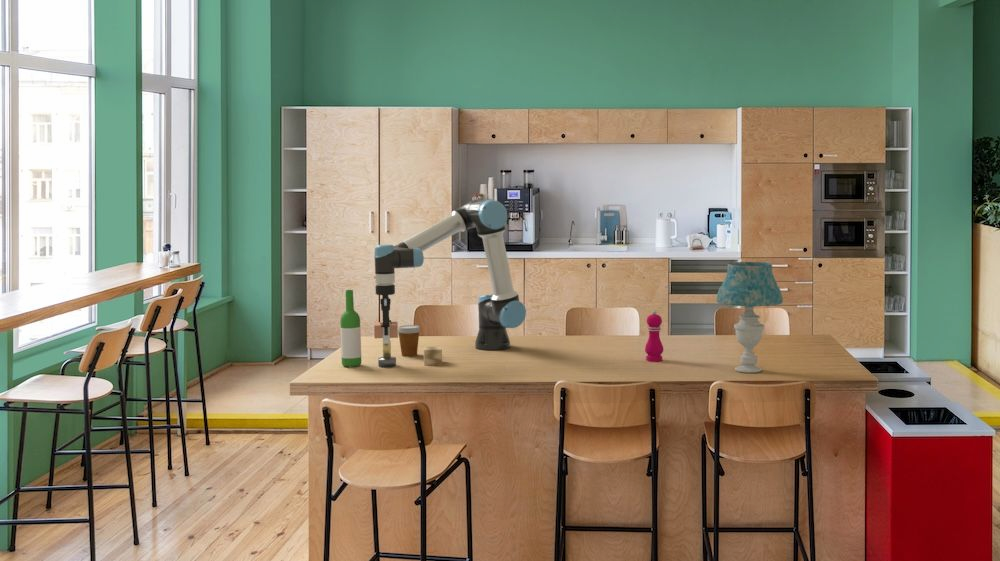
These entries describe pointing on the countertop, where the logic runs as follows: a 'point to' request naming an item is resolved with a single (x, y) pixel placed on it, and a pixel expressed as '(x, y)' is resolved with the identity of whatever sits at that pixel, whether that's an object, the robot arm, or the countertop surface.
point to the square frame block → (379, 330)
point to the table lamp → (749, 304)
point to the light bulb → (387, 357)
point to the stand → (432, 355)
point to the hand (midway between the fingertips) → (386, 341)
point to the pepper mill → (654, 338)
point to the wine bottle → (350, 334)
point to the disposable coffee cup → (409, 339)
